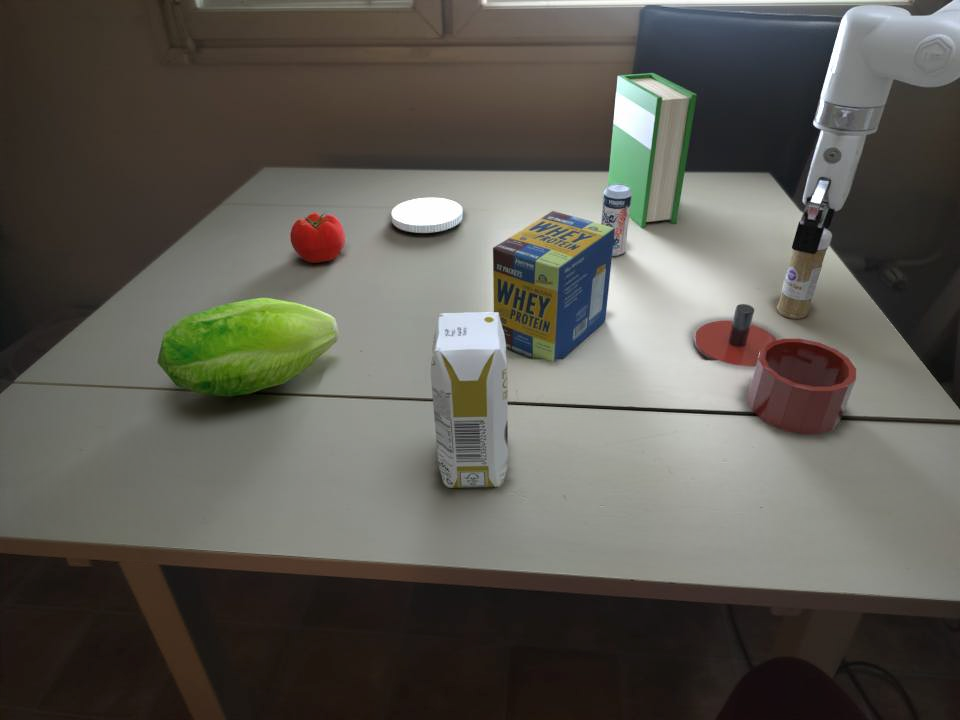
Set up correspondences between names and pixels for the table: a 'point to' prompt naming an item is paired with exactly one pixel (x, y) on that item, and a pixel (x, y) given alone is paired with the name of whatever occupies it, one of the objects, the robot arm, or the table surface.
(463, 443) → the juice carton
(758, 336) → the lid
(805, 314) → the sprinkles bottle
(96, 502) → the table surface
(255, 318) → the lettuce
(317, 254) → the tomato
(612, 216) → the beer can
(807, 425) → the pot
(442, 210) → the plastic lid
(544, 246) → the protein box
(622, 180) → the hardback book
